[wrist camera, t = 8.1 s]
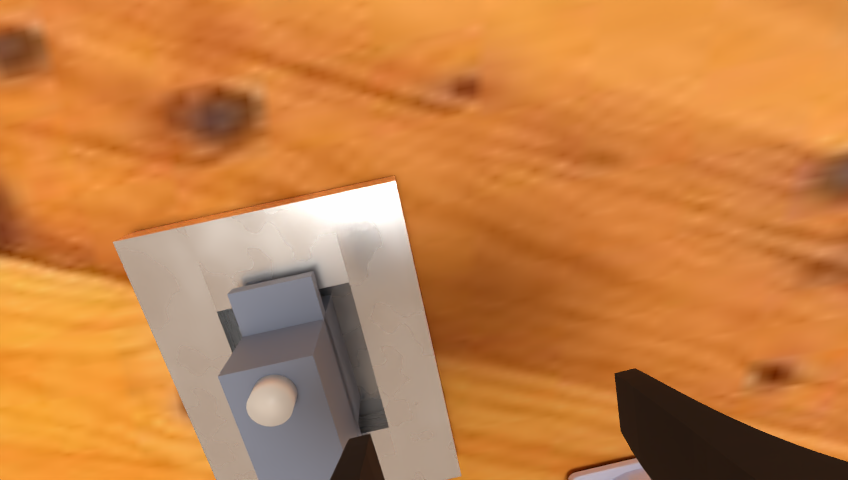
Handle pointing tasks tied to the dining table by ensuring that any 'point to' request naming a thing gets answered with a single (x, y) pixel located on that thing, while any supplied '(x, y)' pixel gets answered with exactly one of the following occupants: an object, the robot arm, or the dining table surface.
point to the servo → (290, 379)
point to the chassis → (335, 275)
